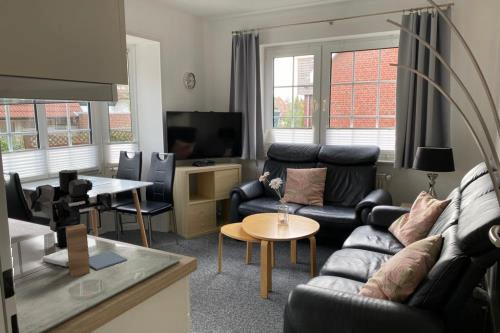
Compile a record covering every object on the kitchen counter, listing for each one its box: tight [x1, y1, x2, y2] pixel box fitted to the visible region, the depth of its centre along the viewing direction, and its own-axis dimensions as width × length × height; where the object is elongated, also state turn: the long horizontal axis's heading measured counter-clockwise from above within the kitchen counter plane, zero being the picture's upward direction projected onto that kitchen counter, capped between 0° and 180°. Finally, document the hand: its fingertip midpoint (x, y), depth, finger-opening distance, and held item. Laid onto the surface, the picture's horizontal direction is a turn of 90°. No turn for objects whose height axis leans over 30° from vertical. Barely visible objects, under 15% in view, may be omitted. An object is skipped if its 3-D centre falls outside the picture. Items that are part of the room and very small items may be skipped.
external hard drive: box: [41, 249, 69, 268], centre depth 117 cm, size 2×8×12 cm
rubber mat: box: [89, 250, 128, 271], centre depth 117 cm, size 11×10×1 cm
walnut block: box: [66, 223, 91, 278], centre depth 107 cm, size 4×5×14 cm
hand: (93, 212), depth 112 cm, fingers open, 9 cm apart
